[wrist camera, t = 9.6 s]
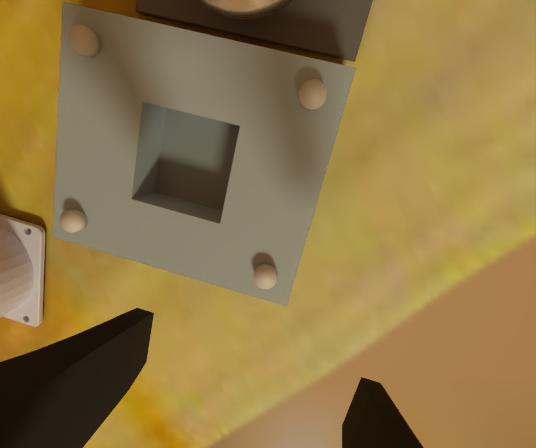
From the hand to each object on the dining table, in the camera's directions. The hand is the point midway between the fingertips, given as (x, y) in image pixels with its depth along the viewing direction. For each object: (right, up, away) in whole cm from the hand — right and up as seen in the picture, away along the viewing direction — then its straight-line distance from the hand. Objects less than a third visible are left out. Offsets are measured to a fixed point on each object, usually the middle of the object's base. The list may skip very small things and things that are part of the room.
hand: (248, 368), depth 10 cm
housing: (-3, +9, +8) cm, 12 cm away
